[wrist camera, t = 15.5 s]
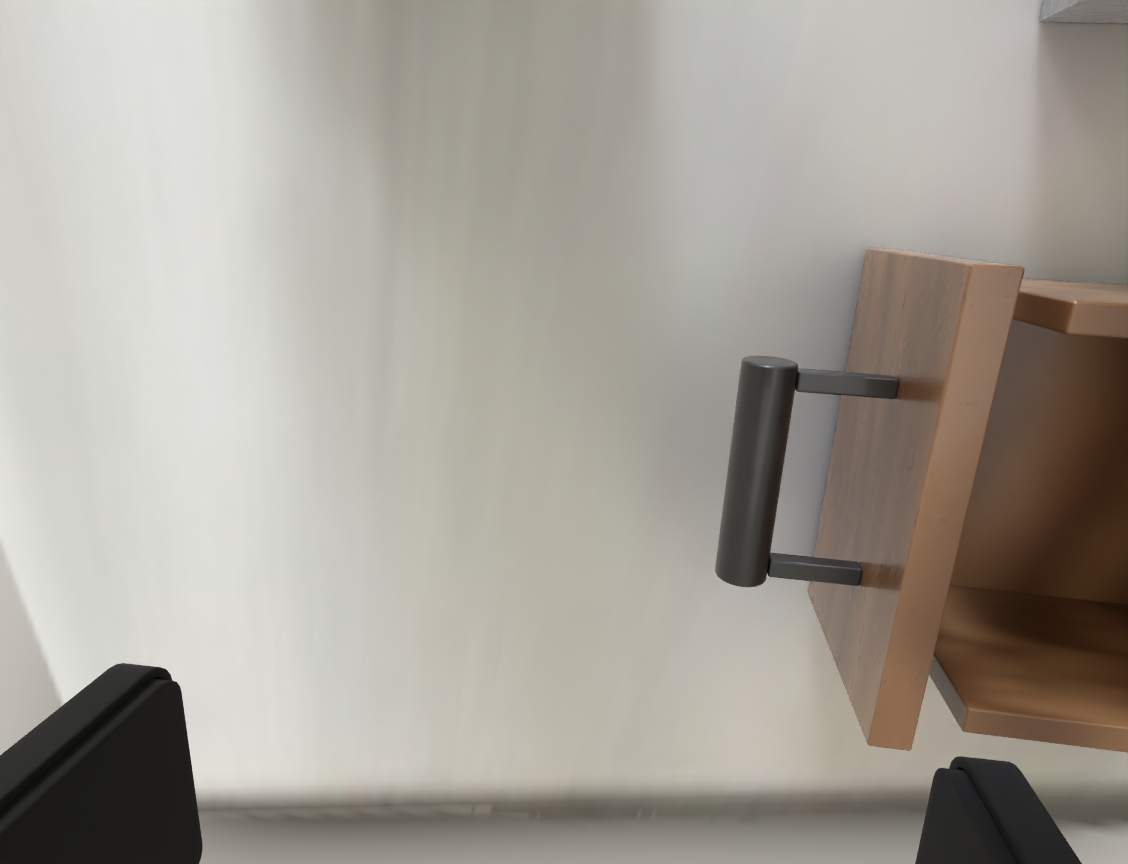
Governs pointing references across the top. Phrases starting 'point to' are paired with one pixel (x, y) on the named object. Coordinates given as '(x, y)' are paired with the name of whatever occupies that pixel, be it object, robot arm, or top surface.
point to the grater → (1085, 11)
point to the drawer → (959, 500)
